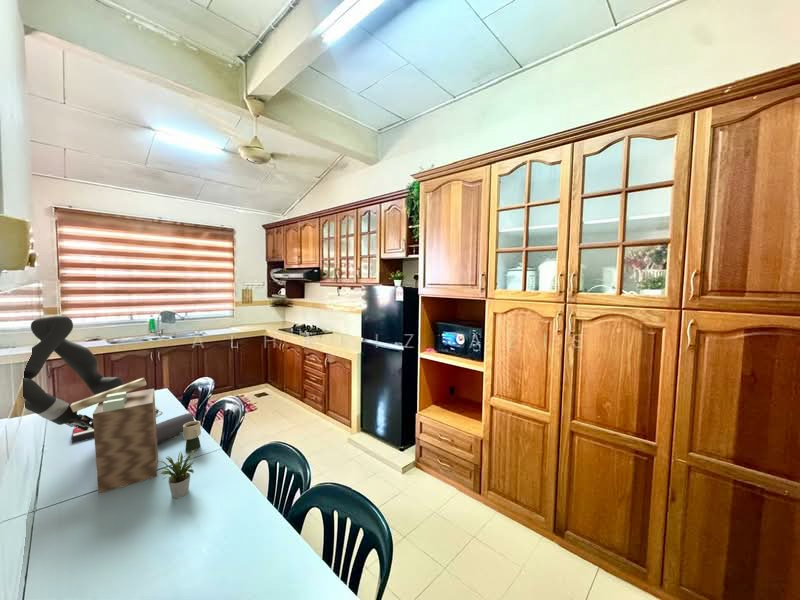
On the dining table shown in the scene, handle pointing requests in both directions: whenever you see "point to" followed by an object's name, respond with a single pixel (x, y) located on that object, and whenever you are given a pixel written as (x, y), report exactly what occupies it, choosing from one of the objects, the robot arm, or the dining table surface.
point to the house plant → (179, 475)
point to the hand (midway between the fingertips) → (94, 428)
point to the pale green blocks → (114, 401)
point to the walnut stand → (126, 442)
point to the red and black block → (82, 434)
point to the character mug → (192, 435)
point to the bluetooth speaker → (172, 427)
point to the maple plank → (102, 396)
